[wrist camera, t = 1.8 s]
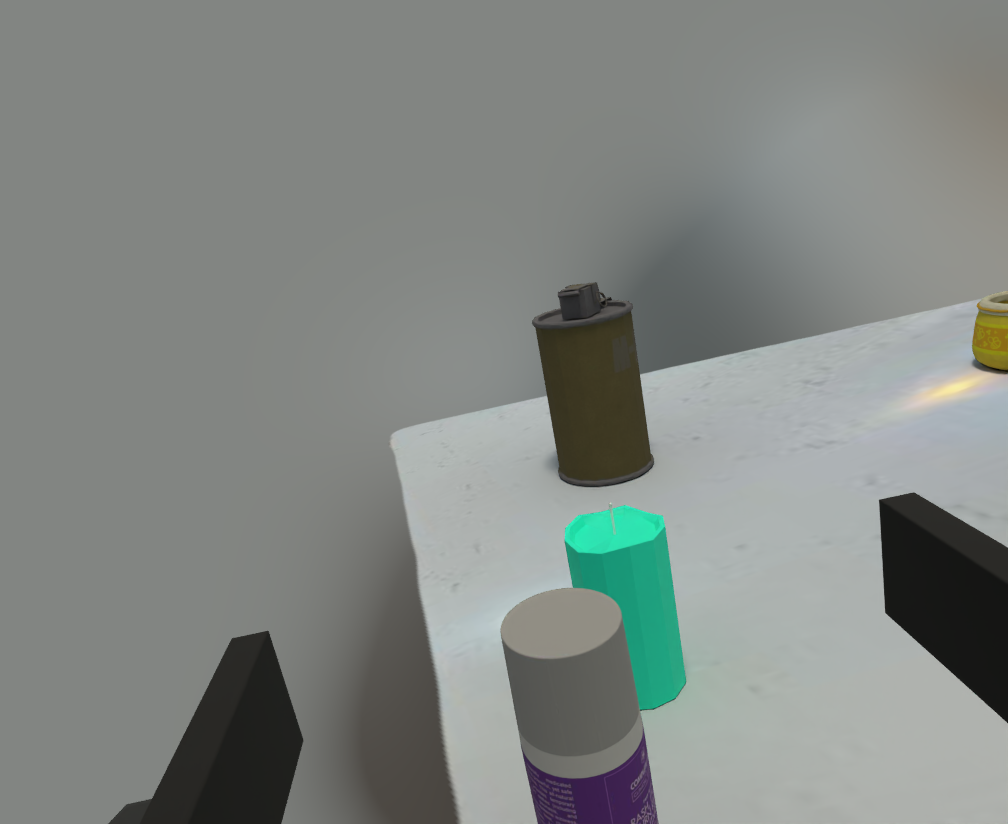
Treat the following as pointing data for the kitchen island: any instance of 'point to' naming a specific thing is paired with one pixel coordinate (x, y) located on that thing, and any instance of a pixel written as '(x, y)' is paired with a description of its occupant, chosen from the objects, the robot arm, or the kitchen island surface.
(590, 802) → the container
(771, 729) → the kitchen island surface
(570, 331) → the canister
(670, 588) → the candle
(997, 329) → the mug
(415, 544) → the kitchen island surface
